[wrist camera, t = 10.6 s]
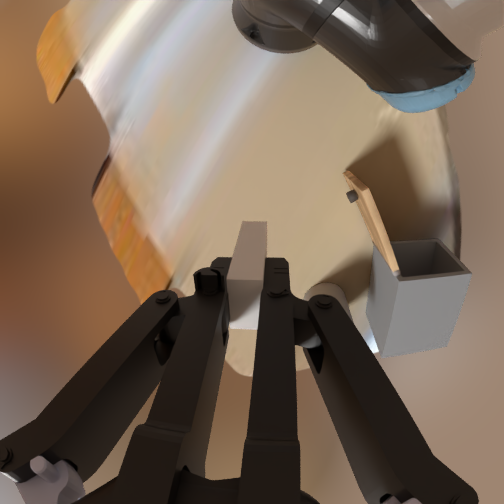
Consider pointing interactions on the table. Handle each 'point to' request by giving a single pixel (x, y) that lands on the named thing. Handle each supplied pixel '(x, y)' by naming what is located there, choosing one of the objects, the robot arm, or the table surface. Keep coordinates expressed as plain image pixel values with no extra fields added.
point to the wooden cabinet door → (372, 220)
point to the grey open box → (415, 297)
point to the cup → (329, 290)
